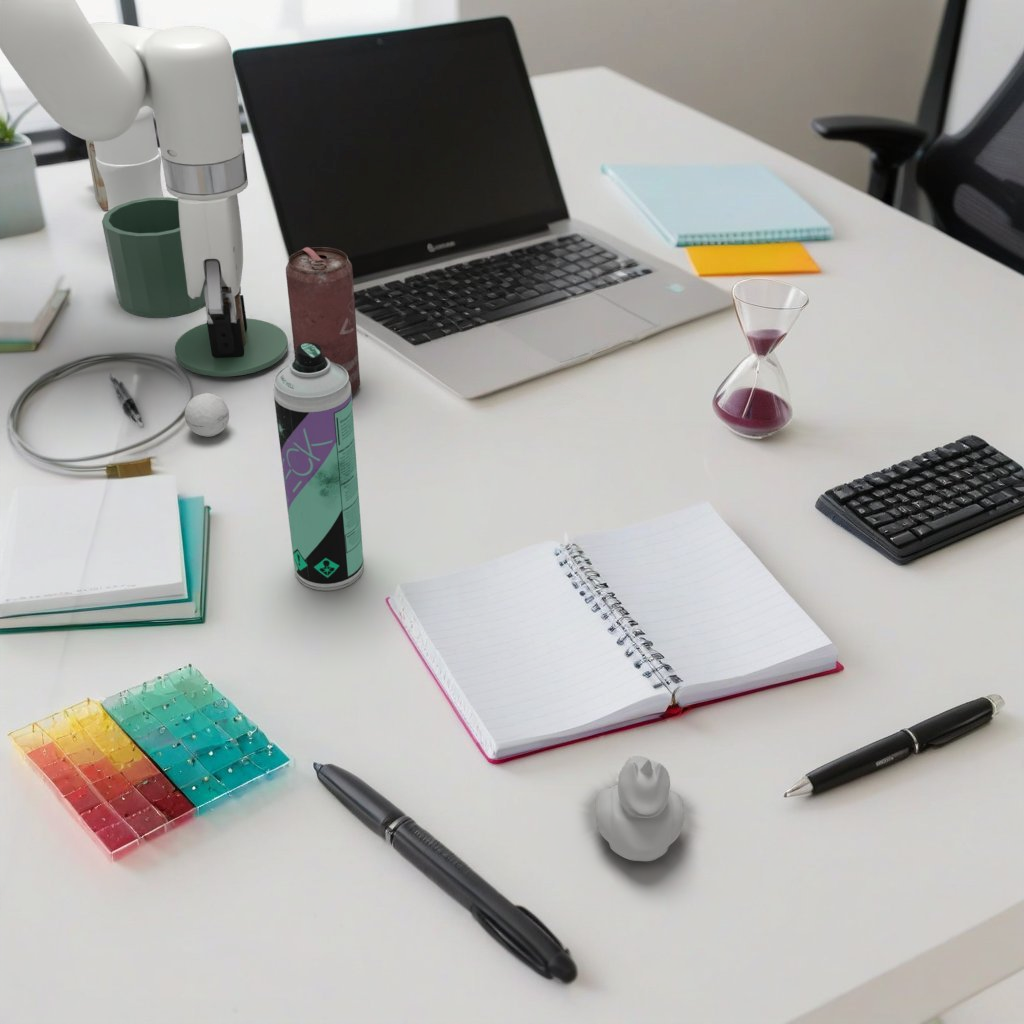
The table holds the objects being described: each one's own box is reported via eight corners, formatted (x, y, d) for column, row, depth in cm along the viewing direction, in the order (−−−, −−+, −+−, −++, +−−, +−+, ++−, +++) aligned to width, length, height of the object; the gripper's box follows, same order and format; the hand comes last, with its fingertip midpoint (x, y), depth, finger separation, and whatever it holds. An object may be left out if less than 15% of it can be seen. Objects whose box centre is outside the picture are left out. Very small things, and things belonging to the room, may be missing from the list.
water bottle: (128, 234, 143) (88, 22, 128) (184, 239, 142) (150, 26, 127) (104, 259, 137) (59, 39, 122) (161, 263, 136) (124, 43, 121)
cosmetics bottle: (103, 211, 148) (88, 134, 142) (95, 200, 151) (80, 123, 145) (144, 205, 150) (130, 127, 144) (135, 193, 153) (121, 117, 147)
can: (333, 366, 118) (322, 237, 110) (372, 390, 114) (364, 259, 106) (284, 387, 115) (269, 256, 106) (323, 412, 111) (311, 278, 103)
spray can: (312, 541, 95) (289, 324, 83) (374, 554, 94) (360, 336, 82) (283, 582, 91) (254, 359, 79) (347, 597, 90) (328, 373, 78)
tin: (112, 319, 125) (95, 237, 119) (125, 277, 133) (110, 198, 128) (210, 315, 126) (198, 233, 121) (217, 274, 135) (206, 196, 129)
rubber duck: (594, 876, 70) (603, 789, 65) (591, 789, 75) (600, 703, 70) (683, 879, 70) (699, 793, 65) (675, 793, 75) (689, 707, 70)
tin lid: (170, 384, 115) (159, 324, 110) (182, 330, 124) (172, 272, 120) (287, 379, 116) (280, 319, 112) (289, 325, 125) (283, 268, 121)
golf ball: (191, 422, 109) (185, 385, 107) (234, 421, 109) (229, 384, 107) (184, 445, 106) (178, 408, 104) (229, 444, 106) (223, 407, 104)
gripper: (173, 140, 114) (200, 307, 125) (153, 207, 101) (185, 387, 112) (250, 138, 115) (270, 304, 126) (241, 204, 102) (263, 383, 113)
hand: (230, 341), depth 119 cm, fingers open, 4 cm apart
